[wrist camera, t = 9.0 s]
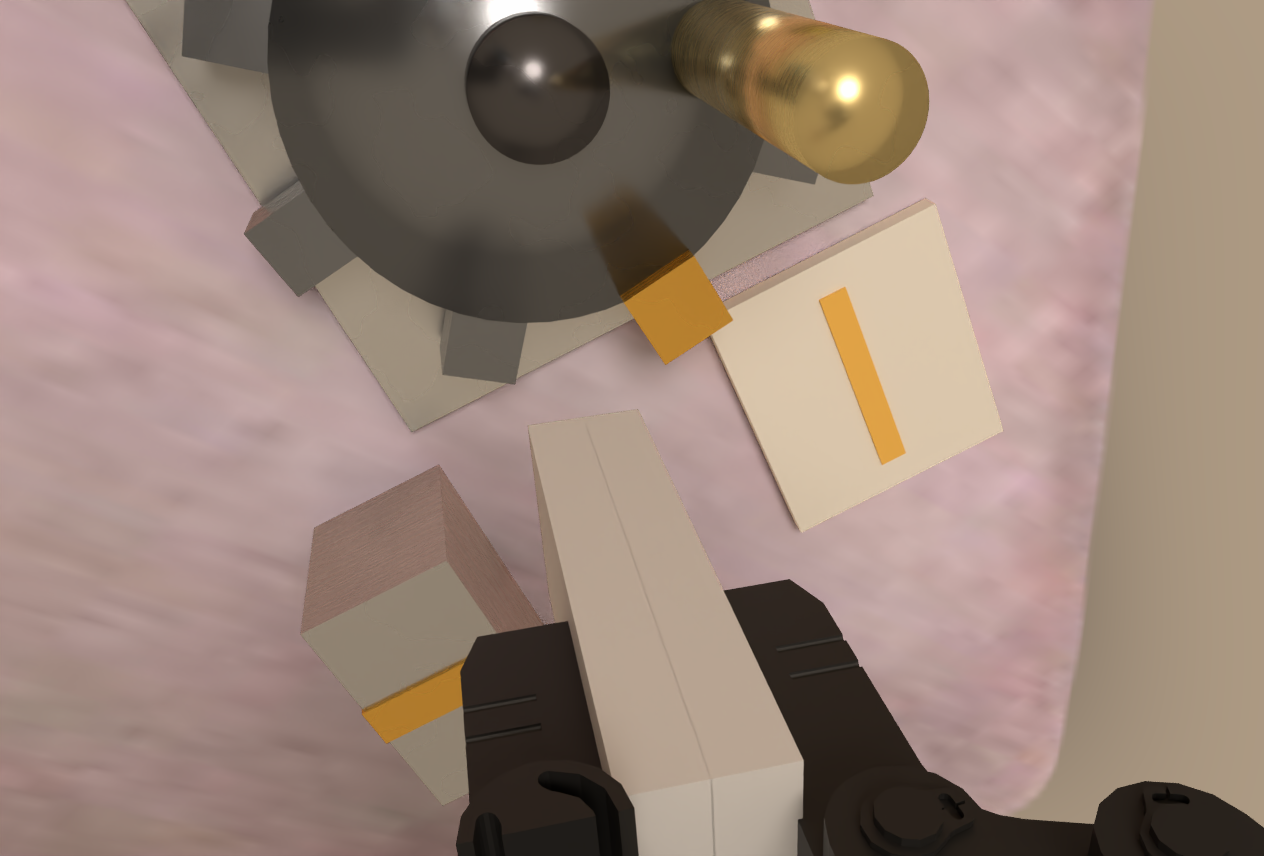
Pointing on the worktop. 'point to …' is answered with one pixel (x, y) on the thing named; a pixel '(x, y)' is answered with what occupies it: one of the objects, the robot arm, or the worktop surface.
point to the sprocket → (549, 147)
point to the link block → (410, 617)
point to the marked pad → (859, 366)
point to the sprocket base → (408, 326)
